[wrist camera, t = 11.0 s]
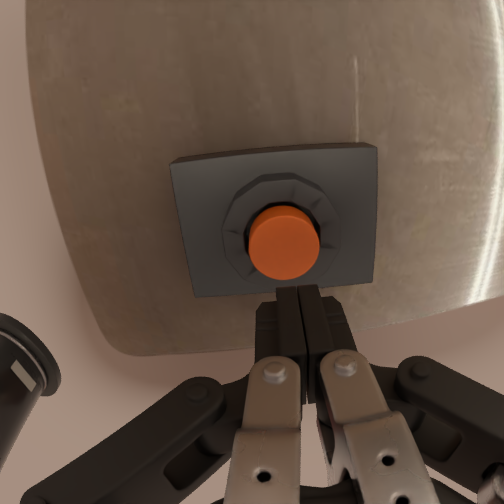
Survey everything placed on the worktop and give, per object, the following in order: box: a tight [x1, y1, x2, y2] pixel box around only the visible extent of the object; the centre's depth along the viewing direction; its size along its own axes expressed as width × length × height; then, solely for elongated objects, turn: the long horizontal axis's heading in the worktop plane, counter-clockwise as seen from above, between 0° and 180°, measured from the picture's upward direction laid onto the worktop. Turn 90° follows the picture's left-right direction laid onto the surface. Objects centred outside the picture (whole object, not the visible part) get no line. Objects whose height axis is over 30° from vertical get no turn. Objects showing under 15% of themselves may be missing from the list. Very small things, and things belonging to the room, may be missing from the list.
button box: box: [169, 143, 378, 298], centre depth 19 cm, size 12×9×4 cm
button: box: [249, 205, 320, 280], centre depth 17 cm, size 4×4×2 cm
